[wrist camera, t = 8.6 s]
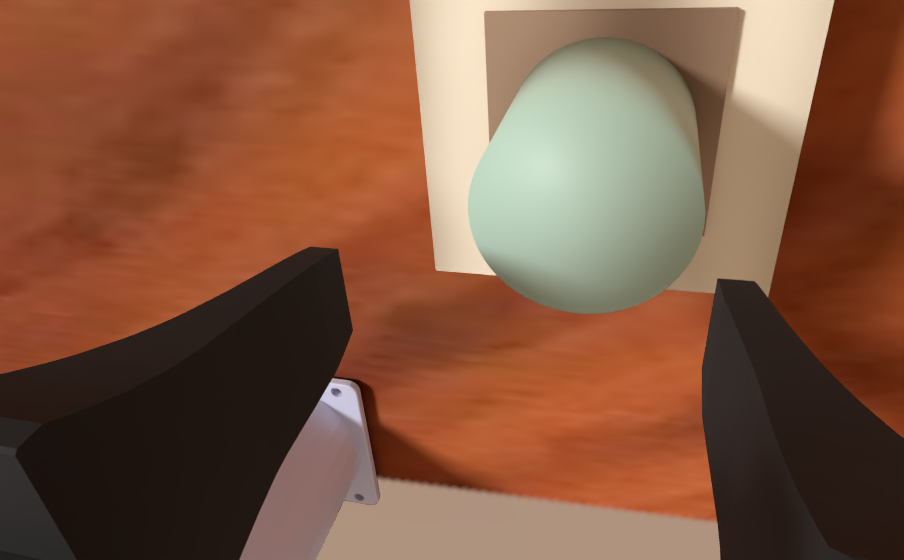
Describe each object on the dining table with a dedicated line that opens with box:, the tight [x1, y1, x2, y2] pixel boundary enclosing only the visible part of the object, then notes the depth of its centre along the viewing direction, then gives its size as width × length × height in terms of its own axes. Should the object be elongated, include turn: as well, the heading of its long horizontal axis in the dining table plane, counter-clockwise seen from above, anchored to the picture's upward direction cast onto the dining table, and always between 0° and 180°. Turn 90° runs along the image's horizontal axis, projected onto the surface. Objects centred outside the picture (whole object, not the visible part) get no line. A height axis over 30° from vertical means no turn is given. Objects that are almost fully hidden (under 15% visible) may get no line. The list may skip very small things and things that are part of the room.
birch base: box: [410, 0, 834, 297], centre depth 19 cm, size 10×10×3 cm
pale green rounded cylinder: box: [468, 37, 705, 314], centre depth 16 cm, size 5×5×5 cm
